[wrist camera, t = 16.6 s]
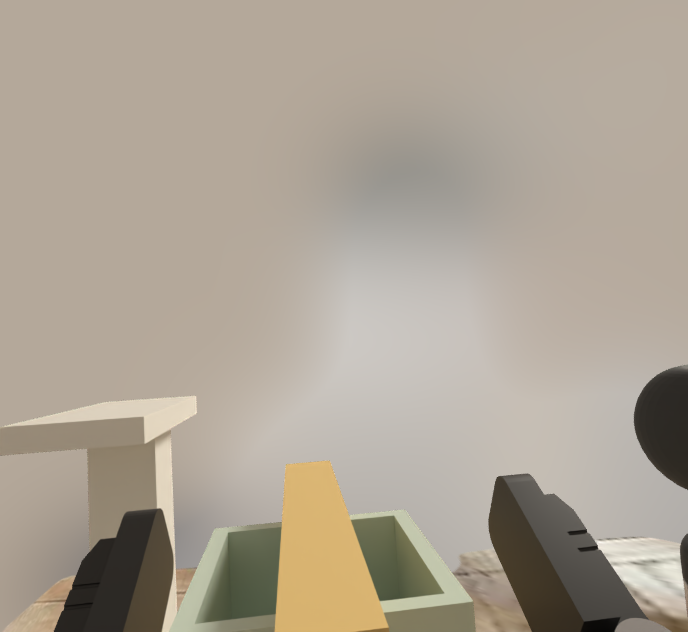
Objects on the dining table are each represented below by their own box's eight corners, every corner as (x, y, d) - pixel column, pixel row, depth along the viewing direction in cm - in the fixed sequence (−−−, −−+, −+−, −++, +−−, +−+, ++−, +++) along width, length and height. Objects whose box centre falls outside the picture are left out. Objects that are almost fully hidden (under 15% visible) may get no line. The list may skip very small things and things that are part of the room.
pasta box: (397, 748, 17) (388, 627, 17) (280, 766, 16) (273, 641, 17) (332, 505, 45) (329, 460, 45) (288, 509, 44) (285, 464, 44)
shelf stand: (158, 886, 34) (143, 416, 36) (3, 914, 32) (-1, 427, 35) (207, 690, 53) (196, 395, 56) (112, 703, 52) (104, 402, 55)
